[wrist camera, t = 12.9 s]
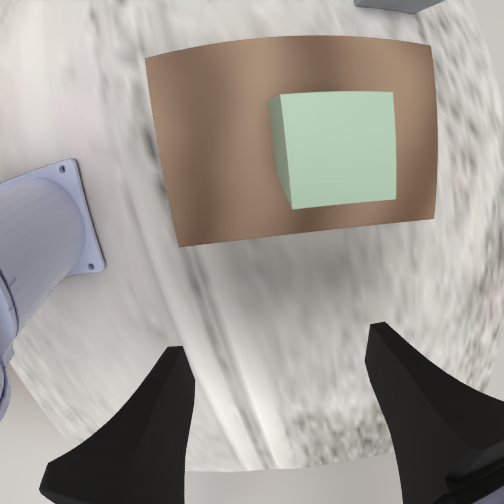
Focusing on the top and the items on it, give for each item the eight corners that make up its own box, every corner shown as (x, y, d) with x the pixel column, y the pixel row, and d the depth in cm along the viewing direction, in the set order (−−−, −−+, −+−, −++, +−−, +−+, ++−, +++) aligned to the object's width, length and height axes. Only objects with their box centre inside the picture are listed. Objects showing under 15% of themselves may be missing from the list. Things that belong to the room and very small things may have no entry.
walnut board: (183, 236, 19) (179, 247, 18) (152, 61, 15) (144, 58, 13) (423, 211, 19) (433, 218, 17) (418, 48, 14) (430, 45, 13)
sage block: (276, 173, 16) (292, 209, 11) (267, 99, 14) (280, 94, 9) (348, 167, 16) (396, 199, 11) (343, 95, 14) (392, 92, 9)
